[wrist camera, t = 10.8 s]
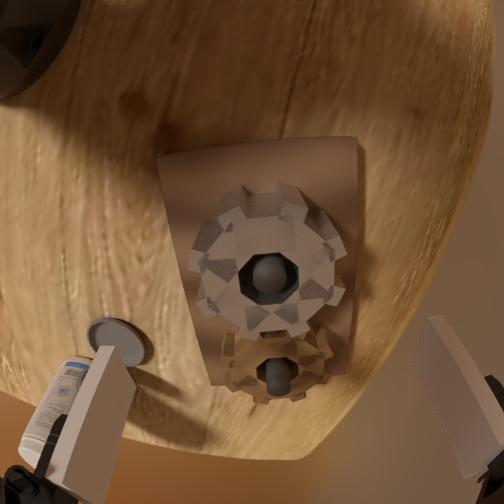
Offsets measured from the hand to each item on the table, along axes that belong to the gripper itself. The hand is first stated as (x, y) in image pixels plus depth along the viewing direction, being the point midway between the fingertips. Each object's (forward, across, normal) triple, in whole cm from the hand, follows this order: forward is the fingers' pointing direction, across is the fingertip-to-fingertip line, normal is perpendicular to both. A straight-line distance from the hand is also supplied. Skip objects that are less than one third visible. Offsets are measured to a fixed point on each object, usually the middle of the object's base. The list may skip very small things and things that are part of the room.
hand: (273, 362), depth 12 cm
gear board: (+14, 0, -5) cm, 14 cm away
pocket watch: (+14, -17, -12) cm, 25 cm away
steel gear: (+12, 0, -1) cm, 12 cm away
